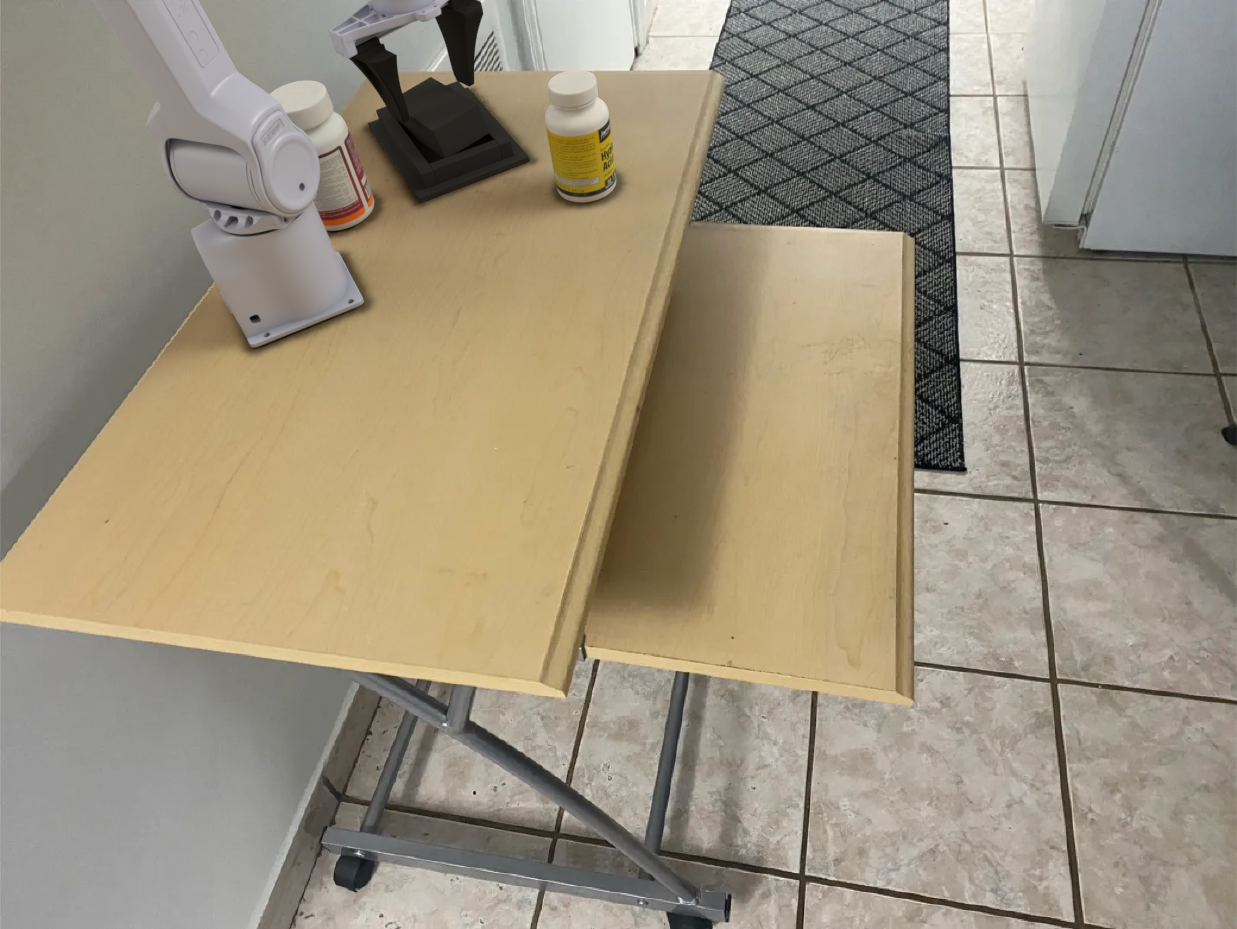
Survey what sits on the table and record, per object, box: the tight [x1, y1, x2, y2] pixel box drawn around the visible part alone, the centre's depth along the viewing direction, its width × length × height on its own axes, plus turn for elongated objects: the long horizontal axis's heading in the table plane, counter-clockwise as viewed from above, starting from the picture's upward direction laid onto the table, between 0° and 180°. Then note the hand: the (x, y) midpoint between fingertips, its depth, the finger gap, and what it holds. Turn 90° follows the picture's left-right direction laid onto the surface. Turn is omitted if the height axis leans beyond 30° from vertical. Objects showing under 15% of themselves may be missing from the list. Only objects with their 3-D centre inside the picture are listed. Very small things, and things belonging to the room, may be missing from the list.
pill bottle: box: [269, 79, 375, 232], centre depth 78 cm, size 6×6×11 cm
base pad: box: [367, 80, 531, 204], centre depth 87 cm, size 16×11×2 cm
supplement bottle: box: [544, 69, 617, 203], centre depth 77 cm, size 5×5×10 cm
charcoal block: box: [397, 76, 490, 158], centre depth 86 cm, size 10×5×3 cm, turn 36°
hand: (433, 99), depth 84 cm, fingers open, 7 cm apart
